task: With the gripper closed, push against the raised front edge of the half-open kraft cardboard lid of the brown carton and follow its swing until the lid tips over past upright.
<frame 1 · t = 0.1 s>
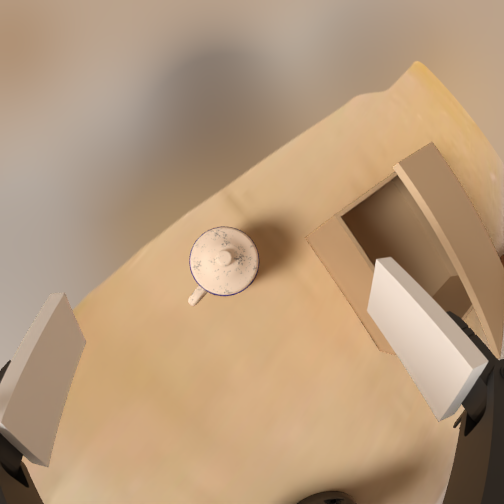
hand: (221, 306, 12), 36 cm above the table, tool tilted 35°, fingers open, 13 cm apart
teacup with lid: (218, 274, 48), on the table
carton: (388, 259, 51), on the table
carton lid: (468, 232, 32), point 20 cm above the table, hinge at 30.0°
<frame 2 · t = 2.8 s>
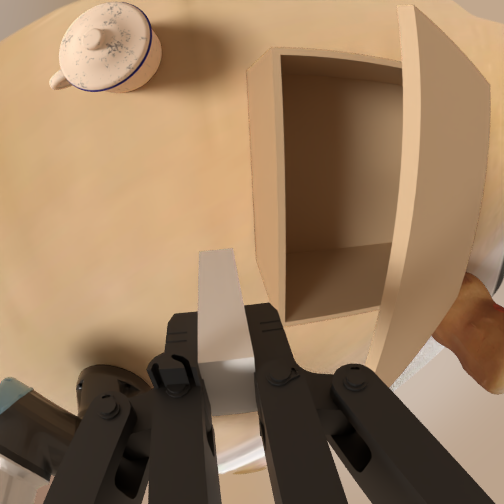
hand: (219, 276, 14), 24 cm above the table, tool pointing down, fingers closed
teacup with lid: (115, 64, 27), on the table
carton: (337, 165, 36), on the table
carton lid: (455, 221, 19), point 20 cm above the table, hinge at 30.0°
butternut squash: (436, 289, 49), on the table
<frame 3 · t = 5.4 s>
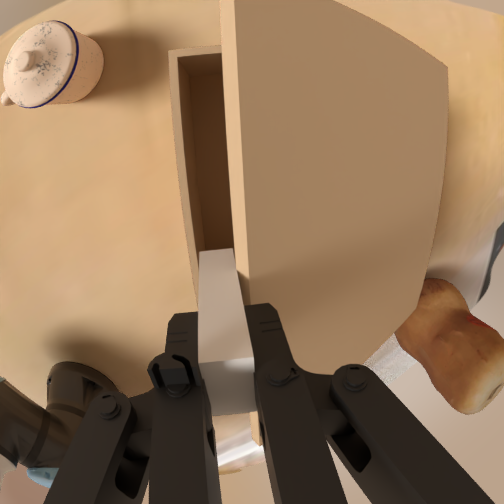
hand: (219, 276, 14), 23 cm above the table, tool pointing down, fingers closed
teacup with lid: (63, 75, 26), on the table
carton: (285, 166, 35), on the table
carton lid: (384, 228, 18), point 20 cm above the table, hinge at 30.8°, touching carton, gripper
butternut squash: (409, 296, 48), on the table
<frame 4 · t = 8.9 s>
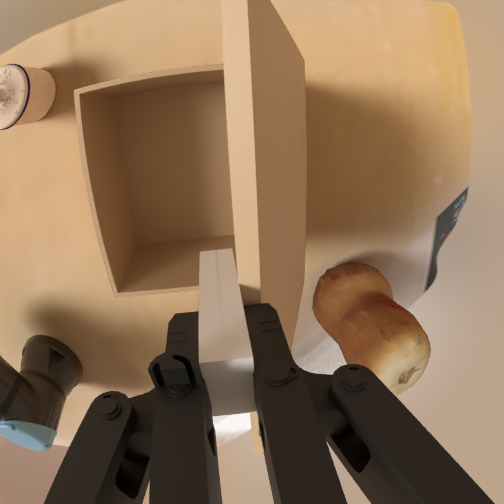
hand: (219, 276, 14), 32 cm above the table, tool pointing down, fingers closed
teacup with lid: (28, 100, 32), on the table
carton: (195, 163, 42), on the table
carton lid: (289, 215, 21), point 24 cm above the table, hinge at 68.4°, touching gripper
butternut squash: (337, 281, 55), on the table
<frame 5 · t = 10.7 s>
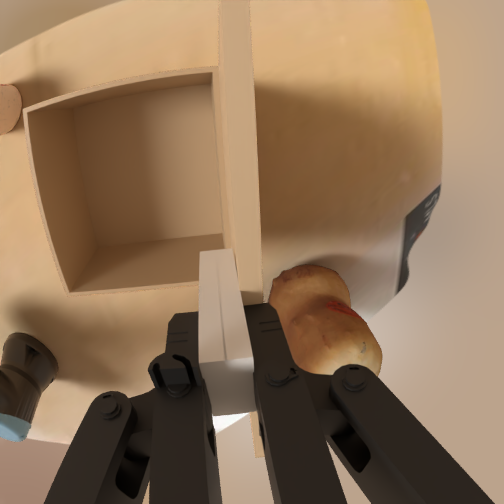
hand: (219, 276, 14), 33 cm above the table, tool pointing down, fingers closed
carton: (146, 168, 42), on the table
carton lid: (235, 217, 21), point 25 cm above the table, hinge at 87.9°, touching gripper
butternut squash: (297, 283, 55), on the table
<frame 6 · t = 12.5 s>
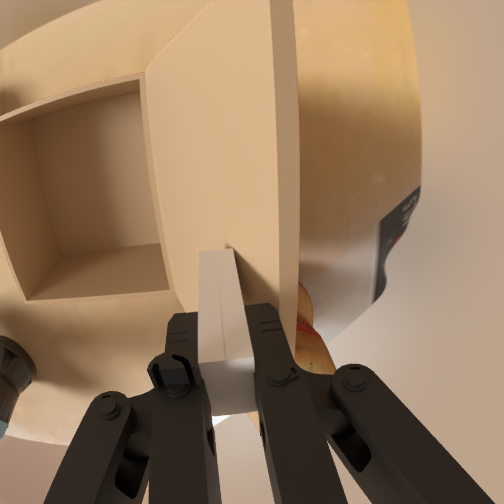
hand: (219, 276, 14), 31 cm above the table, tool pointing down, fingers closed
carton: (101, 177, 40), on the table
carton lid: (194, 224, 20), point 24 cm above the table, hinge at 109.9°, touching gripper
butternut squash: (262, 292, 53), on the table
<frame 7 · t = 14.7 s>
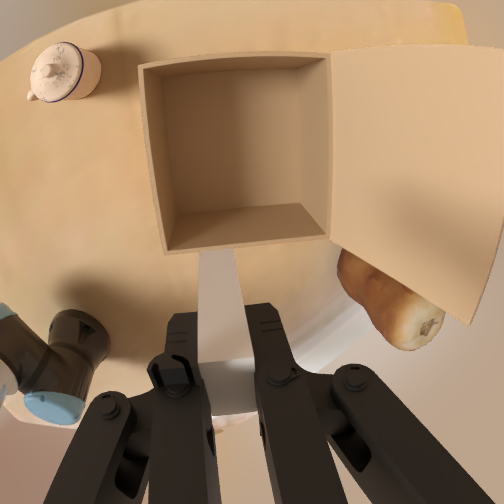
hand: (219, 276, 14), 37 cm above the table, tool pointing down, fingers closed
teacup with lid: (72, 79, 37), on the table
carton: (234, 139, 46), on the table
carton lid: (408, 167, 26), point 24 cm above the table, hinge at 110.0°
butternut squash: (358, 252, 59), on the table
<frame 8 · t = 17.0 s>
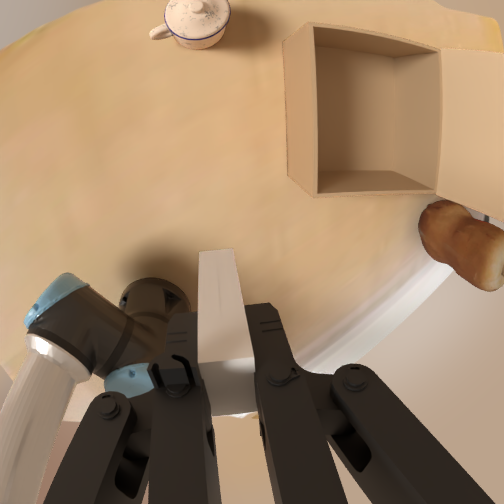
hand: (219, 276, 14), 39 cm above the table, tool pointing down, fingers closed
teacup with lid: (190, 30, 39), on the table
carton: (345, 109, 48), on the table
butternut squash: (428, 219, 61), on the table
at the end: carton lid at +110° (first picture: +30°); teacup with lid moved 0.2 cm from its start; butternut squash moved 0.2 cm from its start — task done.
